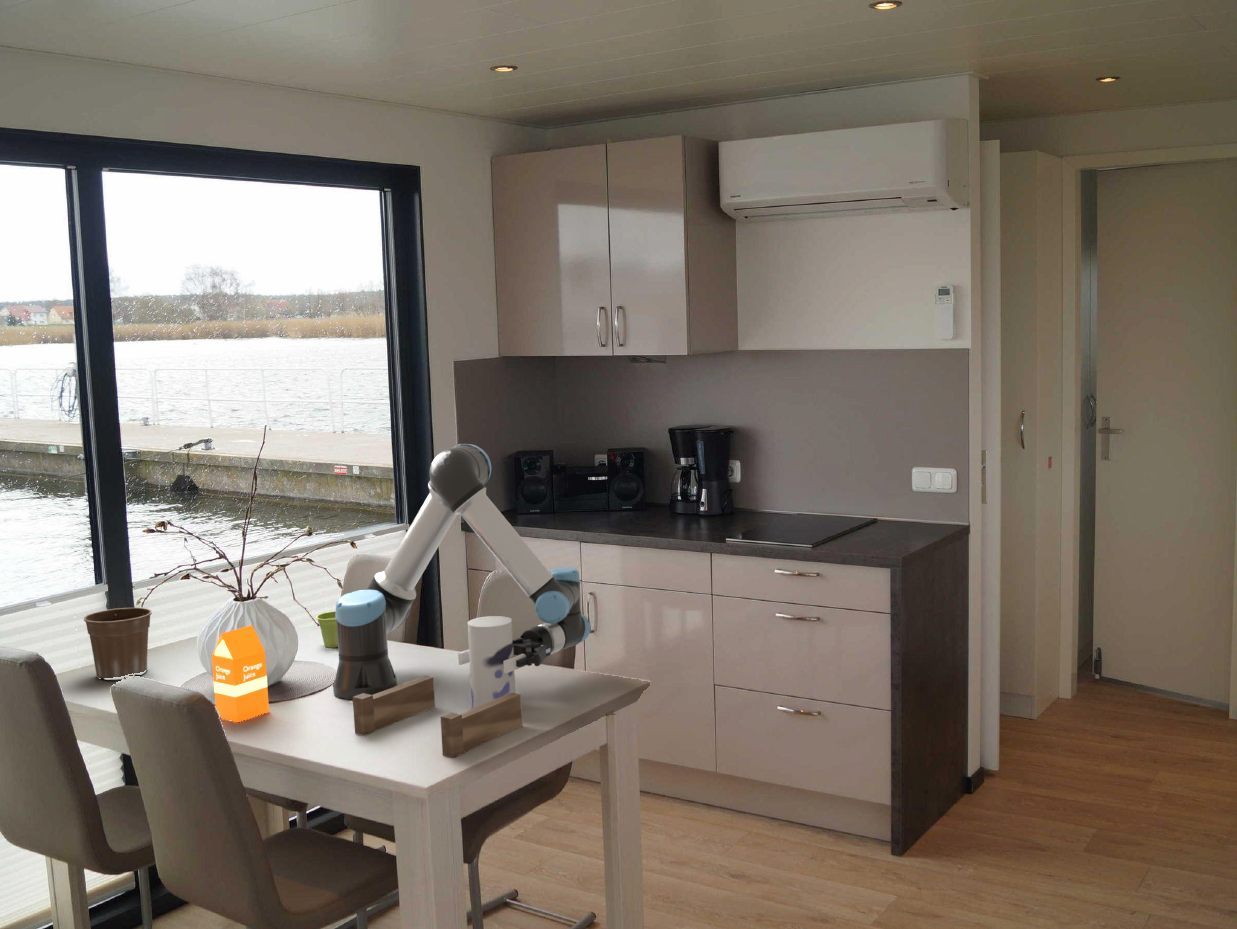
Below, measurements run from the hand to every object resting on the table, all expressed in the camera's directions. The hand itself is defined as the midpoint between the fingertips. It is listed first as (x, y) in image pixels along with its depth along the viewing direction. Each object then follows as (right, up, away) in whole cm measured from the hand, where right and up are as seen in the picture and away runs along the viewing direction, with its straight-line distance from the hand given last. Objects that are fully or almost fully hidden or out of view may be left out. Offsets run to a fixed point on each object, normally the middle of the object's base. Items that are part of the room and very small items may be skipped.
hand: (481, 663), depth 255 cm
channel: (-7, -12, -10) cm, 18 cm away
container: (+2, -11, +4) cm, 12 cm away
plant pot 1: (-99, -10, +41) cm, 107 cm away
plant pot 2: (-49, -6, +63) cm, 80 cm away
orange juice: (-55, -13, +4) cm, 57 cm away
